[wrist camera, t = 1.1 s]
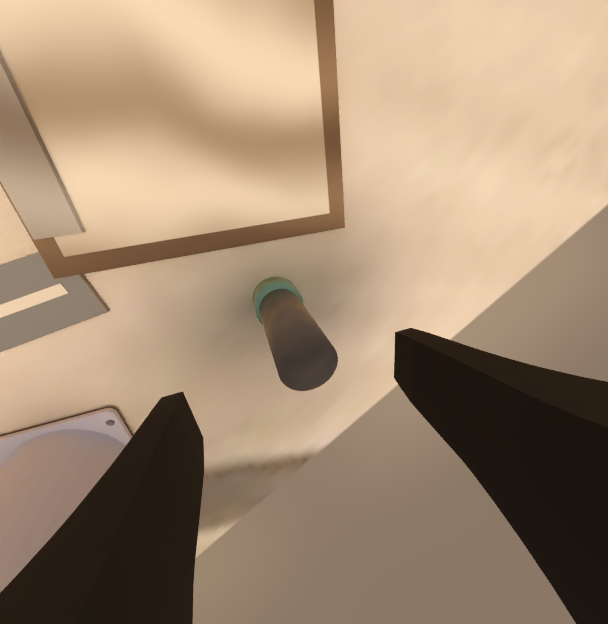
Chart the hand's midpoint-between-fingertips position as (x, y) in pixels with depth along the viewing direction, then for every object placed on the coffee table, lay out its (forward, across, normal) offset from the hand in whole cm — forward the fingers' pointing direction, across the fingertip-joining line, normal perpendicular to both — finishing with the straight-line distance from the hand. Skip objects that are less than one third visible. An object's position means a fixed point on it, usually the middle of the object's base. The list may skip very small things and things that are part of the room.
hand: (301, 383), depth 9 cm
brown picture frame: (+10, +2, -9) cm, 14 cm away
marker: (+10, -1, +1) cm, 10 cm away
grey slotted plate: (+10, +12, -2) cm, 16 cm away
